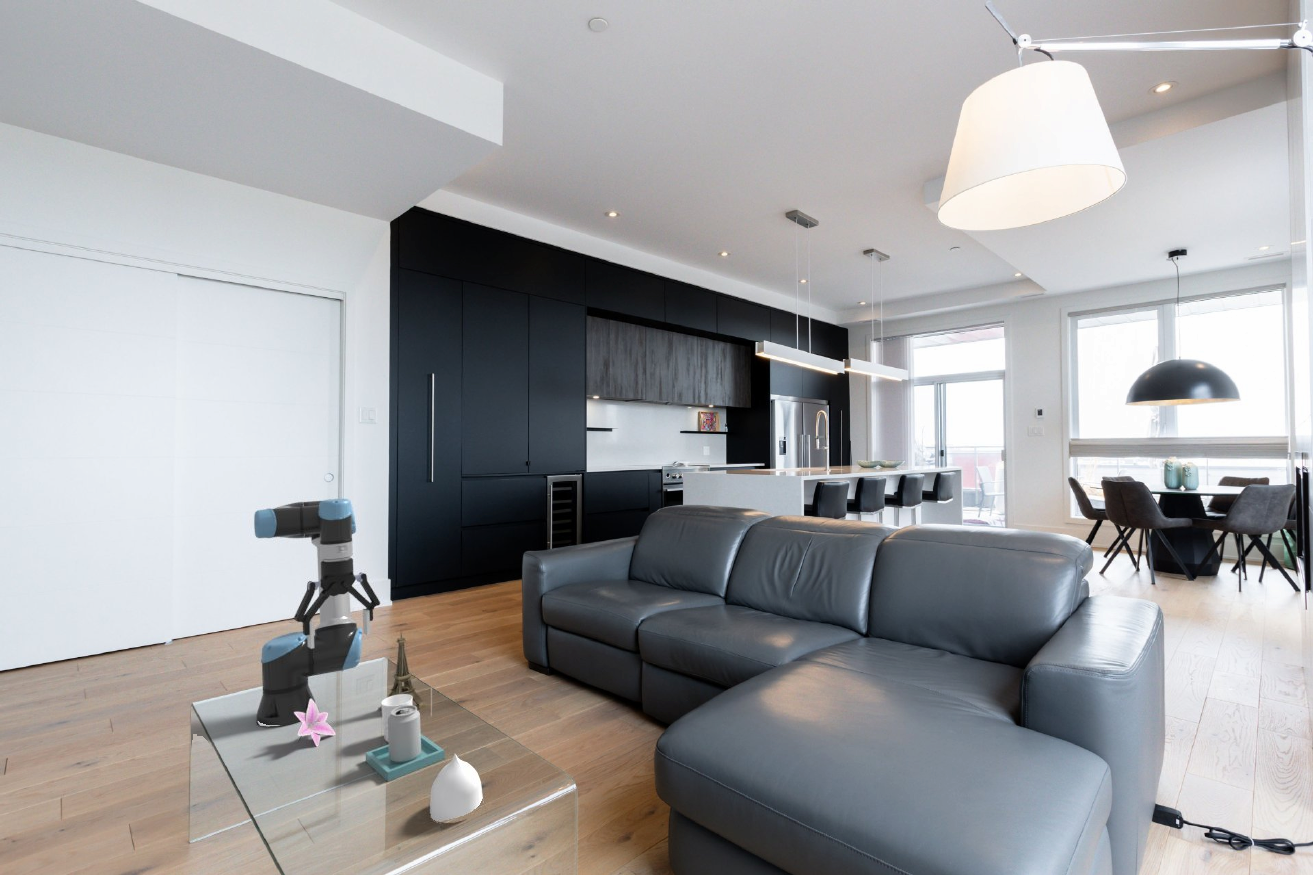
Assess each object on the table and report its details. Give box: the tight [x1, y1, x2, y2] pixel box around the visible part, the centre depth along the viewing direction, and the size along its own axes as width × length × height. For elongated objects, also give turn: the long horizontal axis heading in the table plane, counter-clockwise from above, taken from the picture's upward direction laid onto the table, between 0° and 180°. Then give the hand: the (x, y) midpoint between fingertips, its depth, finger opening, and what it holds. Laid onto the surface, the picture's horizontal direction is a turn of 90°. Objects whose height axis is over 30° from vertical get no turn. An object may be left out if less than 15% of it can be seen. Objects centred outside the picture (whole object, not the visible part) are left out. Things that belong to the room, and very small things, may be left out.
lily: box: [294, 699, 336, 747], centre depth 169 cm, size 12×12×10 cm
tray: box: [365, 733, 445, 782], centre depth 157 cm, size 14×14×2 cm
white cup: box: [380, 694, 414, 743], centre depth 170 cm, size 8×8×10 cm
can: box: [387, 704, 422, 763], centre depth 157 cm, size 8×8×12 cm
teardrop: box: [429, 753, 484, 822], centre depth 135 cm, size 11×11×12 cm
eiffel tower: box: [378, 631, 429, 711], centre depth 189 cm, size 11×11×25 cm
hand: (339, 640), depth 163 cm, fingers open, 13 cm apart
